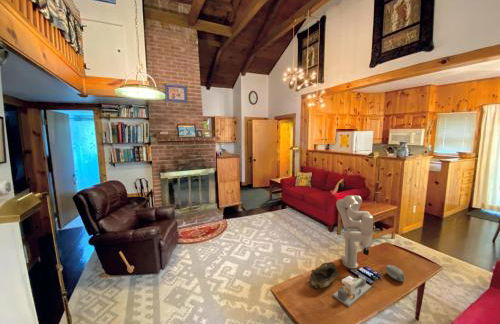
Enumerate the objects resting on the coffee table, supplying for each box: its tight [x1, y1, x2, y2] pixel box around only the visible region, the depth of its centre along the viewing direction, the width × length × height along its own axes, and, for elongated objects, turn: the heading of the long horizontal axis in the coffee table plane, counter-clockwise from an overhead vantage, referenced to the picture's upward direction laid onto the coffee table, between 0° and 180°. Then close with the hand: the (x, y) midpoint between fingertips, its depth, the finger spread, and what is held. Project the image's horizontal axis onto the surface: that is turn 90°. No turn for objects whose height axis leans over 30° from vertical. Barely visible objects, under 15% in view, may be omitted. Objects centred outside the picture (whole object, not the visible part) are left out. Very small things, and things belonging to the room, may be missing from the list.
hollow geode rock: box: [308, 262, 340, 290], centre depth 161 cm, size 28×13×15 cm
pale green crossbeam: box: [345, 278, 363, 294], centre depth 149 cm, size 2×26×2 cm, turn 124°
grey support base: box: [332, 275, 372, 308], centre depth 149 cm, size 12×30×8 cm, turn 124°
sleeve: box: [344, 278, 355, 295], centre depth 146 cm, size 5×5×8 cm
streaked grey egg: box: [385, 264, 406, 282], centre depth 163 cm, size 14×10×10 cm
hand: (365, 254), depth 152 cm, fingers closed
